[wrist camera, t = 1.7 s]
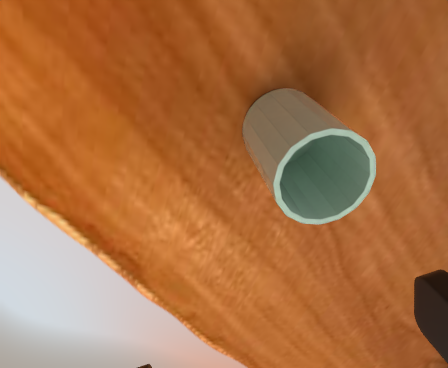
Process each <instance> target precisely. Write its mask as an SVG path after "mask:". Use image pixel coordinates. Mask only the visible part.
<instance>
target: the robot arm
mask: <svg viewBox="0 0 448 368" xmlns="http://www.w3.org/2000/svg"><path fill="white" fill-rule="evenodd" d="M414 315H415V319H416V322H417V324H418V326H419V328H420V330H421V332H422V333H423V335H424V336H425V337H426V338H427V339H428V341H429V342H430V343H431V344H432V345H433V347H434V348H435V349H436V350H437V351H438V352H439V354H440V355H441V356H442V357H443V358H444V360H445V361H446V362H447V363H448V273H447V272H446V271H444V270H437V271H434V272H431V273H428V274H425V275H422V276H419V277H416V279H415V283H414ZM138 368H152V367H151V365H150V364H147V365H144V366H141V367H138Z"/></svg>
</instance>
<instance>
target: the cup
mask: <svg viewBox="0 0 448 368" xmlns="http://www.w3.org/2000/svg"><path fill="white" fill-rule="evenodd" d="M242 134H243V140H244V144H245V146H246V149H247V151H248V153H249V155H250V156H251V158H252V160H253V162H254V164H255V165H256V167H257V169H258V171H259V172H260V174H261V176H262V178H263V180H264V181H265V183H266V185H267V187H268V189H269V190H270V192H271V194H272V196H273V198H274V199H275V201H276V203H277V204H278V205H279V207H280V208H281V209H282V211H283V212H284V213H285V215H287V216H288V217H290V218H292V219H294V220H296V221H298V222H300V223H304V224H324V223H327V222H331V221H335V220H338V219H340V218H342V217H343V216H345V215H346V214H348V213H349V212H351V211H353V210H354V209H356V208H357V207H358V205H359V204H360V203H361V202H362V201H363V199H364V198H365V197H366V196H367V195H368V193H369V192H370V189H371V186H372V184H373V181H374V178H375V176H376V157H375V154H374V152H373V150H372V149H371V147H370V145H369V143H368V141H367V140H366V139H365V138H363V137H362V136H361V135H359V134H358V133H357V132H355V131H354V130H353V129H352V128H350V127H349V126H348V125H346V124H345V123H344V122H343V121H341V120H340V119H339V118H337V117H336V116H335V115H333V114H332V113H331V112H330V111H328V110H327V109H326V108H324V107H323V106H322V105H321V104H319V103H318V102H317V101H315V100H314V99H312V98H311V97H309V96H308V95H307V94H305V93H303V92H302V91H299V90H296V89H291V88H282V89H277V90H273V91H270V92H268V93H266V94H265V95H263V96H261V97H260V98H259V99H258V100H256V102H255V103H254V104H253V105H252V106H251V107H250V109H249V110H248V112H247V114H246V116H245V119H244V123H243V129H242Z"/></svg>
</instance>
